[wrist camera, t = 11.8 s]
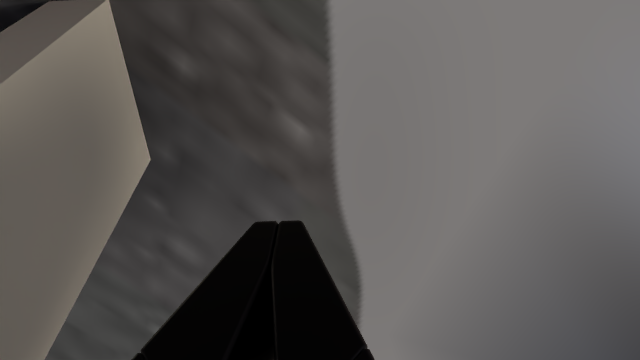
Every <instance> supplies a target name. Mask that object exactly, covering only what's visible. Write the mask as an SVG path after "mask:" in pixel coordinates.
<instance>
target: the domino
mask: <svg viewBox="0 0 640 360" xmlns="http://www.w3.org/2000/svg"><path fill="white" fill-rule="evenodd" d="M150 160H151V159H150V155H149V151H148V147H147V144H146V140H145V136H144V132H143V128H142V125H141V121H140V117H139V113H138V109H137V106H136V102H135V98H134V94H133V90H132V87H131V83H130V79H129V75H128V71H127V68H126V64H125V60H124V56H123V52H122V49H121V45H120V41H119V37H118V33H117V30H116V26H115V22H114V18H113V14H112V11H111V7H110V3H109V0H68V1H49V2H47V3H46V4H44V5H43V6H41V7H39V8H38V9H36V10H35V11H33V12H32V13H30V14H28V15H27V16H25V17H24V18H22V19H21V20H19V21H17V22H16V23H14V24H13V25H11V26H9V27H8V28H6V29H5V30H3V31H2V32H0V360H44V359H45V358H46V356H47V354H48V352H49V350H50V348H51V346H52V344H53V342H54V341H55V339H56V337H57V335H58V333H59V331H60V329H61V327H62V326H63V324H64V322H65V320H66V318H67V316H68V314H69V312H70V311H71V309H72V307H73V305H74V303H75V301H76V299H77V297H78V295H79V294H80V292H81V290H82V288H83V286H84V284H85V282H86V280H87V279H88V277H89V275H90V273H91V271H92V269H93V267H94V265H95V264H96V262H97V260H98V258H99V256H100V254H101V252H102V250H103V248H104V247H105V245H106V243H107V241H108V239H109V237H110V235H111V233H112V232H113V230H114V228H115V226H116V224H117V222H118V220H119V218H120V216H121V215H122V213H123V211H124V209H125V207H126V205H127V203H128V201H129V200H130V198H131V196H132V194H133V192H134V190H135V188H136V186H137V185H138V183H139V181H140V179H141V177H142V175H143V173H144V171H145V169H146V168H147V166H148V164H149V162H150Z"/></svg>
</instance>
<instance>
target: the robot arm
mask: <svg viewBox="0 0 640 360" xmlns="http://www.w3.org/2000/svg"><path fill="white" fill-rule="evenodd" d="M132 360H374V357H373V355H372V354H371V352H370V350H369V349H367V344H366V343H365V341H364V339H363V337H362V335H361V333H360V331H359V329H358V327H357V325H356V323H355V321H354V319H353V318H352V316H351V314H350V312H349V310H348V308H347V306H346V304H345V302H344V300H343V298H342V296H341V294H340V293H339V291H338V289H337V287H336V285H335V283H334V281H333V279H332V277H331V275H330V273H329V271H328V270H327V268H326V266H325V264H324V262H323V260H322V258H321V256H320V254H319V252H318V250H317V248H316V246H315V245H314V243H313V241H312V239H311V237H310V235H309V233H308V231H307V229H306V227H305V225H304V223H303V222H302V221H299V220H298V221H281V222H280V223H279V224H278V223H277V222H276V221H262V222H255V223H254V224H253V225H252V226H251V227H250V228H249V229H248V230H247V231H246V232H245V234H244V235H243V236H242V237H241V238H240V239H239V240H238V241H237V243H236V244H235V245H234V246H233V247H232V248H231V249H230V250H229V251H228V253H227V254H226V255H225V256H224V257H223V258H222V259H221V260H220V262H219V263H218V264H217V265H216V266H215V267H214V268H213V269H212V270H211V272H210V273H209V274H208V275H207V276H206V277H205V278H204V279H203V281H202V282H201V283H200V284H199V285H198V286H197V287H196V288H195V290H194V291H193V292H192V293H191V294H190V295H189V296H188V297H187V298H186V300H185V301H184V302H183V303H182V304H181V305H180V306H179V307H178V309H177V310H176V311H175V312H174V313H173V314H172V315H171V316H170V318H169V319H168V320H167V321H166V322H165V323H164V324H163V325H162V326H161V328H160V329H159V330H158V331H157V332H156V333H155V334H154V335H153V337H152V338H151V339H150V340H149V341H148V342H147V343H146V344H145V346H144V347H143V348H142V349H141V353H137V354H136V355H135V356H134V358H133V359H132Z"/></svg>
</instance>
